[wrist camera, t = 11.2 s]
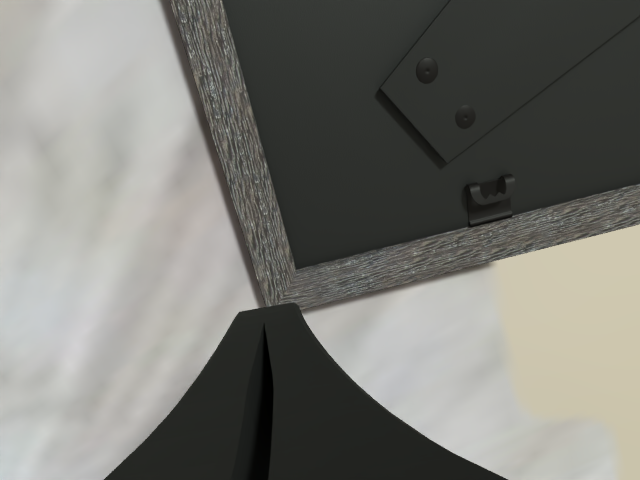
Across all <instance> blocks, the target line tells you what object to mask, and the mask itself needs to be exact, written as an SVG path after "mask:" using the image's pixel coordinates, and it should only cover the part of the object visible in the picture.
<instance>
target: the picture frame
mask: <svg viewBox="0 0 640 480" xmlns="http://www.w3.org/2000/svg"><path fill="white" fill-rule="evenodd" d="M170 3H171V6H172V9H173V12H174V15H175V19H176V22H177V25H178V28H179V31H180V35H181V38H182V41H183V44H184V47H185V50H186V54H187V57H188V60H189V63H190V66H191V70H192V73H193V76H194V79H195V82H196V85H197V89H198V92H199V95H200V98H201V101H202V105H203V108H204V111H205V114H206V117H207V120H208V124H209V127H210V130H211V133H212V136H213V140H214V143H215V146H216V149H217V152H218V155H219V159H220V162H221V165H222V168H223V171H224V175H225V178H226V181H227V184H228V187H229V190H230V194H231V197H232V200H233V203H234V206H235V209H236V213H237V216H238V219H239V222H240V225H241V229H242V232H243V235H244V238H245V241H246V244H247V248H248V251H249V254H250V257H251V260H252V264H253V267H254V270H255V273H256V276H257V279H258V283H259V286H260V289H261V292H262V295H263V299H264V302H265V305H266V307H269V306H275V305H280V304H286V303H291V302H294V303H296V304H297V305H299V307H300V310H302V309H306V308H310V307H314V306H318V305H322V304H326V303H330V302H334V301H338V300H342V299H346V298H350V297H354V296H357V295H361V294H365V293H369V292H373V291H377V290H381V289H385V288H389V287H393V286H397V285H401V284H405V283H409V282H413V281H417V280H421V279H425V278H429V277H433V276H437V275H441V274H445V273H449V272H453V271H457V270H460V269H464V268H468V267H472V266H476V265H480V264H484V263H488V262H492V261H496V260H500V259H504V258H508V257H512V256H516V255H520V254H524V253H528V252H531V251H536V250H540V249H544V248H548V247H552V246H555V245H559V244H563V243H567V242H571V241H575V240H579V239H583V238H587V237H591V236H595V235H599V234H603V233H607V232H611V231H615V230H618V229H623V228H626V227H631V226H635V225H638V224H640V0H170Z"/></svg>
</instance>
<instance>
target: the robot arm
mask: <svg viewBox="0 0 640 480" xmlns="http://www.w3.org/2000/svg"><path fill="white" fill-rule="evenodd" d="M104 480H508V479H506V478H503V477H501V476H499V475H497V474H495V473H493V472H491V471H489V470H487V469H485V468H483V467H481V466H479V465H477V464H474V463H472V462H470V461H468V460H466V459H464V458H462V457H460V456H458V455H456V454H454V453H452V452H450V451H449V450H447V449H445V448H443V447H442V446H440V445H438V444H437V443H435V442H433V441H432V440H430V439H428V438H427V437H425V436H424V435H422V434H421V433H419V432H418V431H417V430H415V429H414V428H412V427H411V426H409V425H408V424H406V423H405V422H403V421H402V420H400V419H399V418H398V417H396V416H395V415H393V414H392V413H390V412H389V411H388V410H387V409H385V408H384V407H383V406H382V405H380V404H379V403H378V402H377V401H376V400H374V399H373V398H372V397H371V396H370V395H368V394H367V393H366V392H365V391H364V390H363V389H362V388H361V387H359V386H358V385H357V384H356V383H355V382H354V381H353V380H352V379H351V378H350V377H349V376H348V375H347V374H346V373H345V372H344V371H343V370H342V368H341V367H340V366H339V365H338V364H337V363H336V362H335V361H334V360H333V358H332V357H331V356H330V355H329V354H328V353H327V351H326V350H325V349H324V347H323V346H322V345H321V343H320V342H319V341H318V340H317V338H316V337H315V335H314V334H313V333H312V331H311V329H310V328H309V326H308V325H307V323H306V321H305V319H304V318H303V316H302V313H301V311H300V307H299V305H297V304H296V303H294V302H291V303H286V304H280V305H275V306H269V307H264V308H259V309H253V310H248V311H242V312H239V313H238V314H237V316H236V317H235V319H234V320H233V322H232V324H231V325H230V327H229V329H228V331H227V332H226V334H225V336H224V337H223V339H222V341H221V342H220V344H219V345H218V347H217V349H216V350H215V352H214V353H213V355H212V356H211V358H210V359H209V361H208V362H207V364H206V365H205V367H204V369H203V370H202V372H201V373H200V374H199V376H198V377H197V379H196V380H195V381H194V383H193V384H192V385H191V387H190V388H189V389H188V391H187V392H186V393H185V395H184V396H183V397H182V399H181V400H180V401H179V403H178V404H177V405H176V406H175V408H174V409H173V410H172V411H171V412H170V414H169V415H168V416H167V417H166V418H165V419H164V420H163V421H162V423H161V424H160V425H159V426H158V427H157V428H156V429H155V430H154V431H153V432H152V433H151V435H150V436H149V437H148V438H147V439H146V440H145V441H144V442H143V443H142V444H141V445H140V446H139V447H138V448H137V449H136V450H135V451H134V452H132V453H131V454H130V455H129V456H128V457H127V458H126V459H125V460H124V461H123V462H122V463H121V464H120V465H119V466H118V467H117V468H116V469H115V470H114V471H112V472H111V473H110V474H109V475H108V476H107V477H106V478H105V479H104Z"/></svg>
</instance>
